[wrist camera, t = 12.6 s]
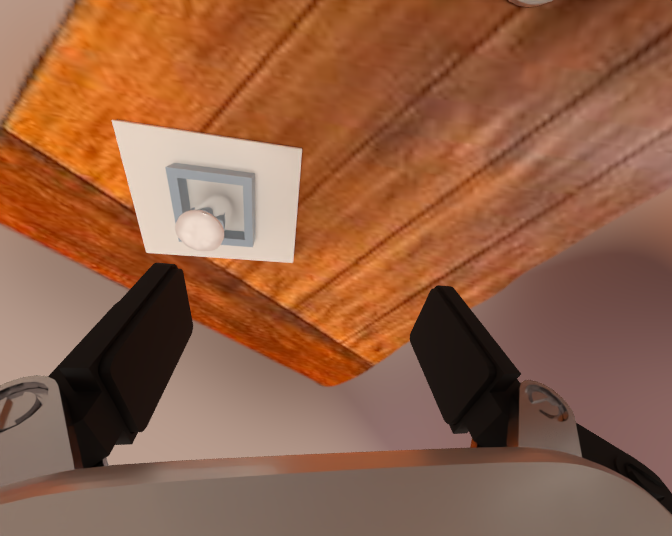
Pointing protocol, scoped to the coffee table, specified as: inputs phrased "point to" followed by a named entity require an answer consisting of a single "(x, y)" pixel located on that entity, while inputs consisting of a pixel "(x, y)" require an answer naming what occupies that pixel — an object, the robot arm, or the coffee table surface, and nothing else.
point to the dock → (212, 189)
